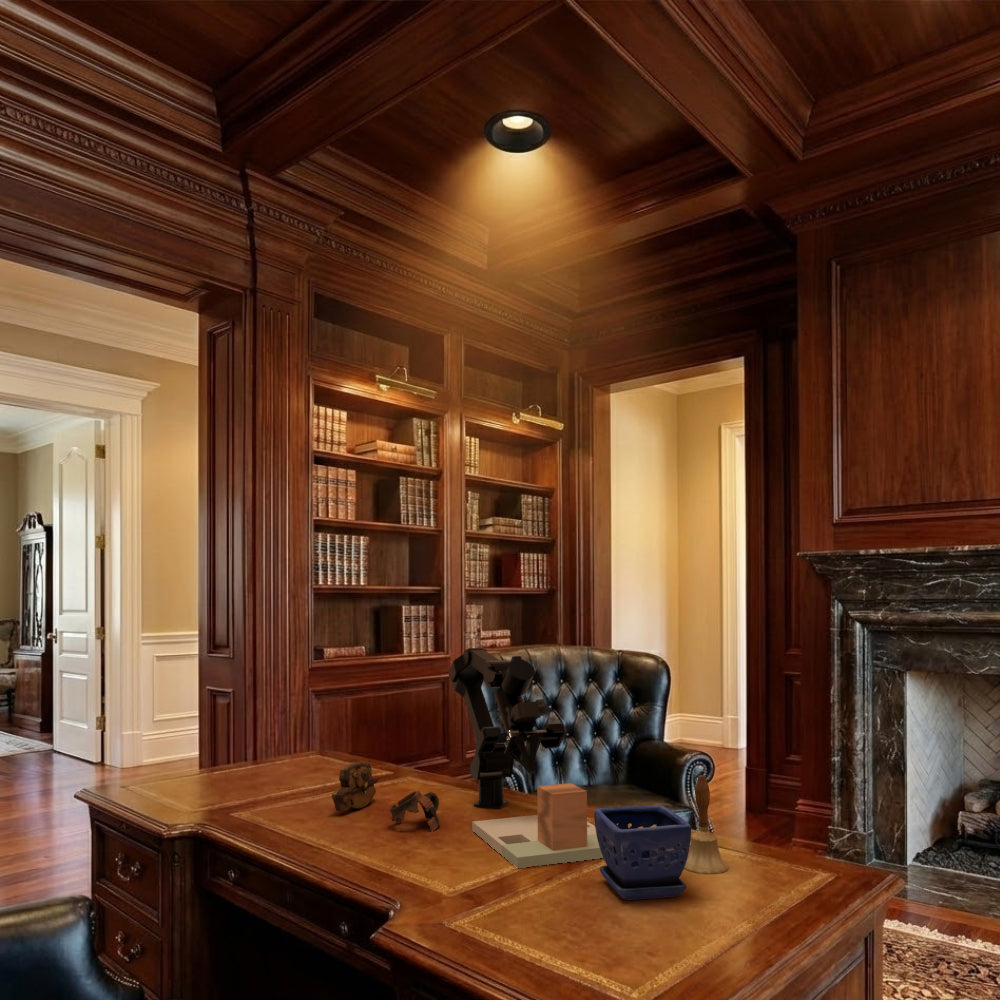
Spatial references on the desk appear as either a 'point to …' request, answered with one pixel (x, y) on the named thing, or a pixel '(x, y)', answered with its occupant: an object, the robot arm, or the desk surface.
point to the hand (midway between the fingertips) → (532, 772)
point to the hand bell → (704, 837)
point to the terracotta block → (562, 816)
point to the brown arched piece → (410, 804)
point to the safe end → (549, 853)
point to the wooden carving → (354, 787)
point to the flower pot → (643, 850)
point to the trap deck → (511, 830)
